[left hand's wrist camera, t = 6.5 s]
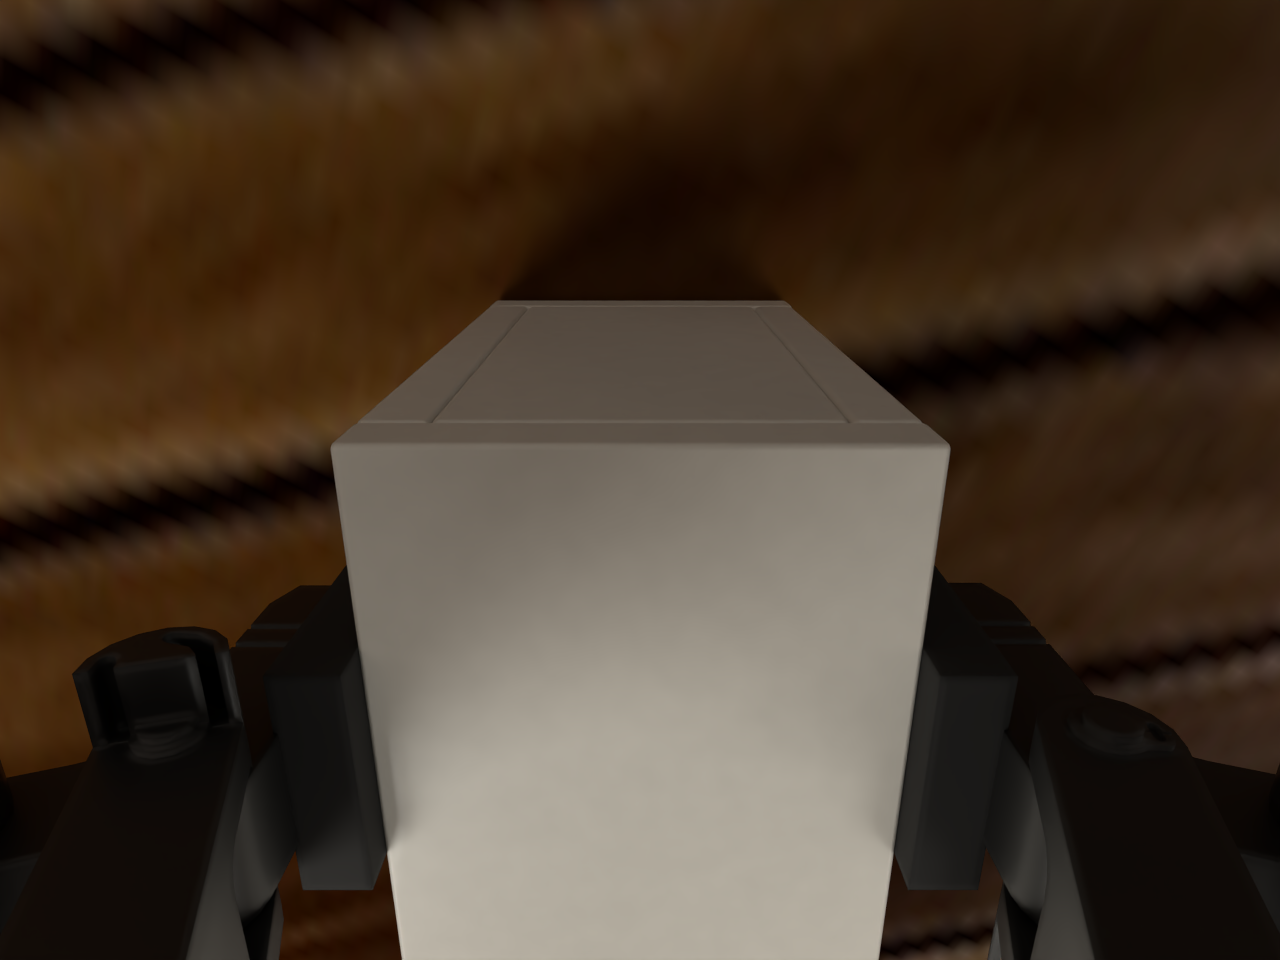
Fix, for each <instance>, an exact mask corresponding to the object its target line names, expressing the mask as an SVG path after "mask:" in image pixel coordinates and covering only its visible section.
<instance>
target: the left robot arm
mask: <svg viewBox="0 0 1280 960" xmlns="http://www.w3.org/2000/svg"><path fill="white" fill-rule="evenodd" d="M72 676H73V679H74V683H75V686H76V690H77V693H78V697H79V700H80V704H81V707H82V711H83V714H84V718H85V721H86V725H87V728H88V732H89V735H90V739H91V742H92V746H93V749H92V751H91V753H90V755H89V757H88V759H87V761H86V762H82V763H78V764H74V765H69V766H64V767H59V768H54V769H49V770H44V771H39V772H34V773H29V774H24V775H19V776H14V777H9V778H6V775H5V772H4V770H3V767H2V764H1V761H0V960H279V952H280V944H281V936H282V928H283V920H284V919H283V912H282V905H281V900H280V895H279V890H278V883H279V881H280V879H281V877H282V876H283V874H284V872H285V870H286V868H287V866H288V864H289V862H290V860H291V858H292V856H293V854H294V852H295V850H296V855H297V861H298V866H299V871H300V876H301V882H302V887H303V890H373V888H374V885H375V882H376V880H377V877H378V874H379V872H380V869H381V866H382V864H383V861H384V858H385V856H386V853H387V847H386V840H385V833H384V826H383V819H382V812H381V804H380V797H379V790H378V783H377V776H376V769H375V762H374V754H373V747H372V740H371V733H370V726H369V719H368V712H367V704H366V697H365V690H364V683H363V676H362V669H361V662H360V655H359V647H358V640H357V633H356V626H355V619H354V612H353V605H352V598H351V591H350V583H349V576H348V569H347V565H346V567H345V568H344V569H343V570H342V572H341V573H340V574H339V576H338V577H337V578H336V580H335V581H334V582H333V584H332V585H331V586H299V587H297V588H295V589H294V590H292V591H290V592H289V593H287V594H285V595H284V596H282V597H280V598H279V599H277V600H275V601H273V602H272V603H270V604H269V605H268V606H267V607H266V609H265V610H264V611H263V612H262V613H261V614H260V616H259V617H258V618H257V619H256V620H255V621H254V622H253V624H252V625H251V629H247V630H246V632H245V633H244V634H243V635H242V636H241V637H240V639H239V640H238V641H237V642H236V647H232V648H231V649H230V650H229V645H228V640H227V638H225V637H224V636H223V635H221V634H220V633H218V632H217V631H216V630H211V629H206V628H200V627H195V626H193V627H173V628H165V629H160V630H155V631H151V632H146V633H141V634H138V635H135V636H132V637H130V638H127V639H125V640H122V641H119V642H117V643H114V644H111V645H109V646H108V647H106V648H104V649H103V650H101V651H99V652H98V653H96V654H94V655H92V656H91V657H89V658H87V659H86V660H85V661H84V662H83V663H82V664H81V665H80V666H79V667H78V669H77V670H76V671H75V672H74V673H73V674H72ZM986 848H987V850H988V852H989V854H990V856H991V858H992V860H993V862H994V864H995V866H996V868H997V869H998V871H999V873H1000V875H1001V877H1002V879H1003V885H1002V890H1001V895H1000V900H999V905H998V910H997V914H996V919H995V924H994V929H993V934H992V939H991V944H990V949H989V954H988V960H1000V958H1002V960H1280V764H1279V767H1278V770H1277V773H1276V775H1275V774H1270V773H1265V772H1260V771H1255V770H1250V769H1245V768H1240V767H1235V766H1230V765H1225V764H1220V763H1215V762H1210V761H1206V760H1202V759H1198V758H1194V757H1192V755H1191V753H1190V751H1189V749H1188V747H1187V746H1186V745H1185V743H1184V742H1183V741H1182V740H1181V738H1180V737H1179V736H1178V735H1177V733H1176V732H1175V731H1174V730H1173V729H1172V728H1170V727H1169V726H1167V725H1166V724H1165V723H1163V722H1162V721H1160V720H1159V719H1157V718H1156V717H1154V716H1153V715H1152V714H1150V713H1147V712H1145V711H1143V710H1140V709H1138V708H1136V707H1134V706H1131V705H1129V704H1127V703H1125V702H1121V701H1117V700H1113V699H1109V698H1105V697H1101V696H1097V695H1094V694H1093V693H1092V692H1091V691H1090V690H1089V689H1088V688H1087V686H1086V685H1085V684H1084V683H1083V682H1082V681H1081V680H1080V678H1079V677H1078V676H1077V675H1076V674H1075V673H1074V672H1073V670H1072V669H1071V668H1070V667H1069V666H1068V665H1067V664H1066V662H1065V661H1064V660H1063V659H1062V658H1061V657H1060V656H1059V654H1058V653H1057V652H1056V651H1055V650H1054V649H1053V648H1052V646H1051V645H1050V644H1046V640H1045V638H1044V637H1043V636H1042V635H1041V634H1040V633H1039V632H1038V630H1037V629H1036V628H1035V627H1034V626H1030V621H1029V620H1028V619H1027V618H1026V617H1025V616H1024V614H1023V613H1022V612H1021V611H1020V610H1019V609H1018V608H1017V606H1016V605H1015V604H1014V603H1013V602H1012V601H1011V600H1009V599H1007V598H1006V597H1004V596H1002V595H1001V594H999V593H997V592H996V591H994V590H992V589H991V588H989V587H987V586H985V585H984V584H982V583H948V582H947V581H946V580H945V578H944V577H943V576H942V574H941V573H940V572H939V571H938V569H937V568H936V567H935V565H934V570H933V577H932V584H931V591H930V598H929V605H928V613H927V620H926V627H925V634H924V641H923V648H922V655H921V662H920V669H919V676H918V683H917V690H916V697H915V704H914V712H913V719H912V726H911V733H910V740H909V747H908V754H907V761H906V768H905V775H904V782H903V790H902V797H901V804H900V811H899V818H898V825H897V832H896V839H895V846H894V853H895V856H896V859H897V861H898V864H899V867H900V869H901V872H902V875H903V877H904V880H905V883H906V885H907V888H908V890H978V886H979V881H980V876H981V871H982V865H983V860H984V855H985V850H986Z"/></svg>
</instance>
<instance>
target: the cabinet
mask: <svg viewBox="0 0 1280 960" xmlns="http://www.w3.org/2000/svg"><path fill="white" fill-rule="evenodd" d="M331 455H332V462H333V469H334V476H335V483H336V491H337V498H338V505H339V512H340V519H341V526H342V533H343V541H344V548H345V555H346V562H347V569H348V576H349V583H350V591H351V598H352V605H353V612H354V619H355V626H356V633H357V640H358V647H359V655H360V662H361V669H362V676H363V683H364V690H365V697H366V704H367V712H368V719H369V726H370V733H371V740H372V747H373V754H374V762H375V769H376V776H377V783H378V790H379V797H380V804H381V812H382V819H383V826H384V833H385V840H386V847H387V855H388V862H389V869H390V876H391V883H392V890H393V897H394V905H395V912H396V919H397V926H398V933H399V940H400V947H401V955H402V960H879V953H880V946H881V939H882V932H883V924H884V917H885V910H886V903H887V896H888V889H889V882H890V875H891V868H892V861H893V854H894V846H895V839H896V832H897V825H898V818H899V811H900V804H901V797H902V790H903V782H904V775H905V768H906V761H907V754H908V747H909V740H910V733H911V726H912V719H913V712H914V704H915V697H916V690H917V683H918V676H919V669H920V662H921V655H922V648H923V641H924V634H925V627H926V620H927V613H928V605H929V598H930V591H931V584H932V577H933V570H934V563H935V556H936V549H937V542H938V535H939V527H940V520H941V513H942V506H943V499H944V492H945V485H946V478H947V471H948V464H949V457H950V445H949V444H948V443H947V442H946V441H945V440H944V439H943V438H942V437H940V436H939V435H938V434H937V433H936V432H935V431H933V430H932V429H931V428H930V427H929V426H928V425H926V424H923V423H922V422H921V421H920V420H919V419H918V418H917V417H916V416H915V415H913V414H912V413H911V412H910V411H909V410H908V409H907V408H905V407H904V406H903V405H902V404H901V403H900V402H899V401H897V400H896V399H895V398H894V397H893V396H892V395H891V394H889V393H888V392H887V391H886V390H885V389H884V388H883V387H881V386H880V385H879V384H878V383H877V382H876V381H875V380H873V379H872V378H871V377H870V376H869V375H868V374H867V373H865V372H864V371H863V370H862V369H861V368H860V367H859V366H857V365H856V364H855V363H854V362H853V361H852V360H851V359H849V358H848V357H847V356H846V355H845V354H844V353H843V352H841V351H840V350H839V349H838V348H837V347H836V346H835V345H833V344H832V343H831V342H830V341H829V340H828V339H827V338H825V337H824V336H823V335H822V334H821V333H820V332H819V331H817V330H816V329H815V328H814V327H813V326H812V325H811V324H810V323H808V322H807V321H806V320H805V319H804V318H803V317H802V316H800V315H799V314H798V313H797V312H796V311H795V310H794V309H792V307H791V306H790V305H789V304H788V303H787V302H785V301H496V302H495V303H494V304H493V305H491V306H490V308H488V309H487V310H486V311H485V312H484V313H483V314H482V315H480V316H479V317H478V318H477V319H476V320H475V321H473V322H472V323H471V324H470V325H469V326H468V327H467V328H465V329H464V330H463V331H462V332H461V333H460V334H458V335H457V336H456V337H455V338H454V339H453V340H452V341H450V342H449V343H448V344H447V345H446V346H445V347H443V348H442V349H441V350H440V351H439V352H438V353H437V354H435V355H434V356H433V357H432V358H431V359H430V360H428V361H427V362H426V363H425V364H424V365H423V366H422V367H420V368H419V369H418V370H417V371H416V372H415V373H413V374H412V375H411V376H410V377H409V378H408V379H407V380H405V381H404V382H403V383H402V384H401V385H400V386H399V387H397V388H396V389H395V390H394V391H393V392H392V393H390V394H389V395H388V396H387V397H386V398H385V399H384V400H382V401H381V402H380V403H379V404H378V405H377V406H375V407H374V408H373V409H372V410H371V411H370V412H369V413H367V414H366V415H365V416H364V417H363V418H362V419H360V420H359V421H358V423H357V424H355V425H353V426H352V427H351V428H350V429H349V430H347V431H346V432H345V433H344V434H343V435H342V436H340V437H339V438H338V439H337V440H336V441H335V442H334V443H332V446H331Z"/></svg>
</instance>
